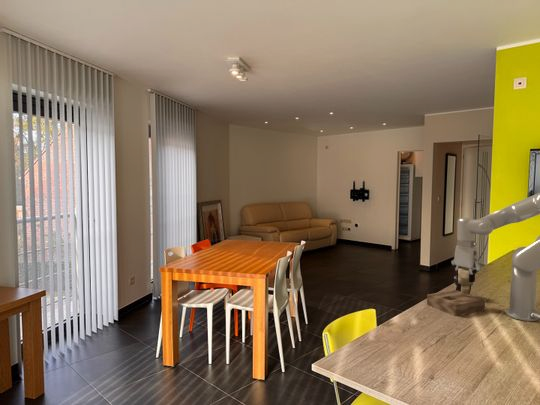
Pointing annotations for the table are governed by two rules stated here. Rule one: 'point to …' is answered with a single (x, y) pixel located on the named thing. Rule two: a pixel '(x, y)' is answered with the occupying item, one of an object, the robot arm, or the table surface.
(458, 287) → the coffee mug
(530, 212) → the robot arm
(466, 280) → the peg
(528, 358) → the table surface
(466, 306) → the board
